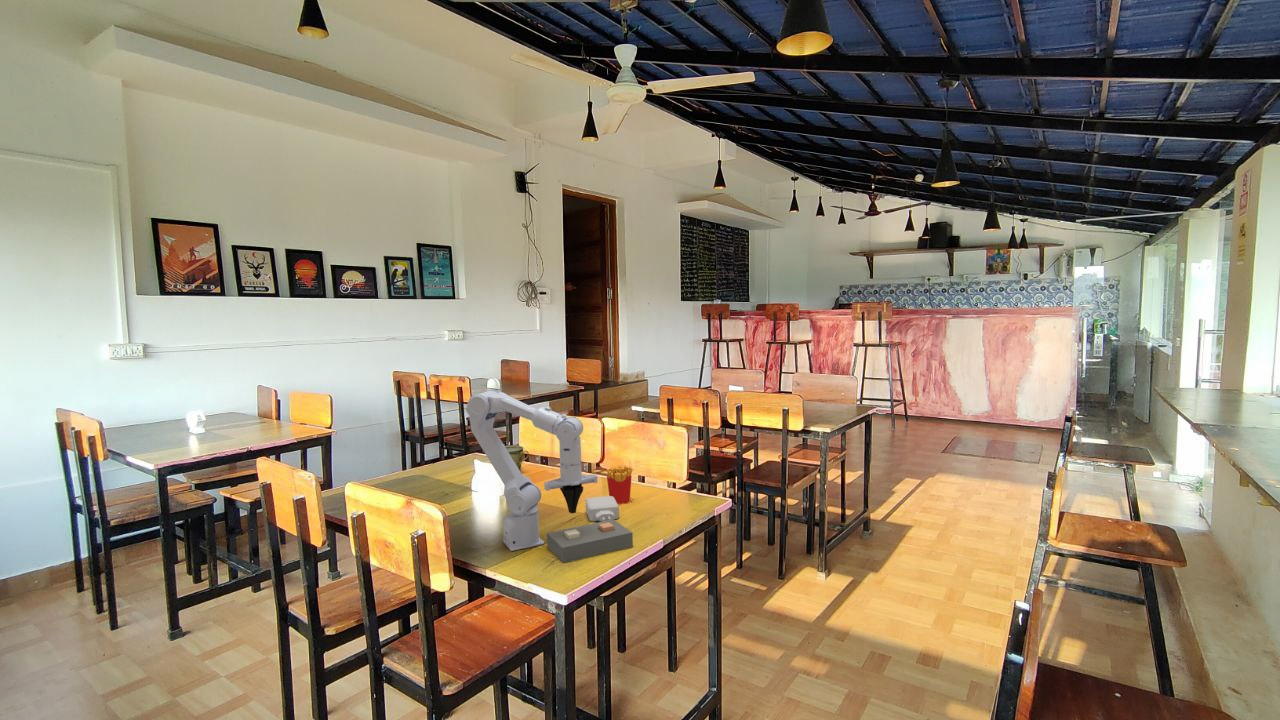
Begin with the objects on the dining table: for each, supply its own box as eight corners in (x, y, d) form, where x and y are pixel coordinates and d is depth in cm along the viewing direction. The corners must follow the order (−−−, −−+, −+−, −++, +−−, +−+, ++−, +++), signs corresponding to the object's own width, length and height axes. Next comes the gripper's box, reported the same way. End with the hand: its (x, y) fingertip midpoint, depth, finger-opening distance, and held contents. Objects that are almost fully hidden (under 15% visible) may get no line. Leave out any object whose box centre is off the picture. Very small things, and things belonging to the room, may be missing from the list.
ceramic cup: (493, 475, 240) (492, 450, 239) (507, 469, 249) (505, 444, 248) (523, 477, 236) (522, 452, 235) (535, 471, 245) (534, 446, 244)
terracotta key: (603, 538, 166) (603, 528, 166) (598, 535, 169) (598, 524, 169) (614, 536, 168) (613, 525, 168) (609, 532, 171) (608, 522, 171)
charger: (591, 529, 180) (585, 512, 195) (622, 526, 182) (614, 509, 197) (591, 513, 180) (585, 498, 195) (622, 510, 182) (614, 495, 196)
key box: (563, 562, 157) (562, 547, 156) (547, 547, 167) (546, 532, 167) (632, 546, 166) (632, 532, 166) (613, 532, 176) (613, 519, 176)
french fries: (609, 505, 201) (608, 469, 200) (606, 501, 205) (605, 466, 204) (634, 502, 203) (633, 467, 202) (631, 498, 207) (630, 464, 206)
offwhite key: (569, 546, 162) (568, 535, 162) (564, 542, 165) (564, 531, 164) (580, 543, 163) (579, 532, 163) (575, 539, 166) (575, 529, 166)
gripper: (549, 470, 158) (551, 521, 160) (601, 462, 165) (602, 511, 166) (541, 464, 165) (542, 513, 166) (591, 457, 171) (592, 504, 172)
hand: (572, 512), depth 166 cm, fingers closed
